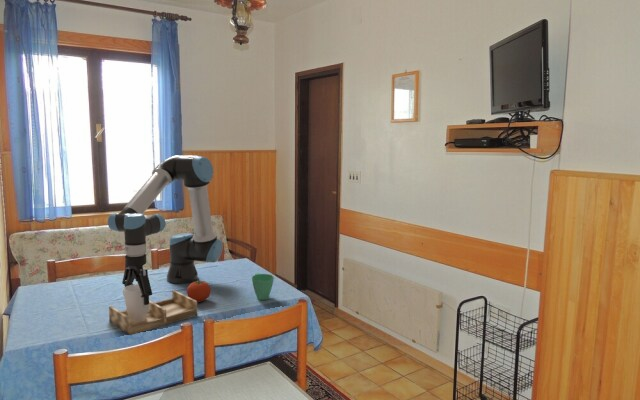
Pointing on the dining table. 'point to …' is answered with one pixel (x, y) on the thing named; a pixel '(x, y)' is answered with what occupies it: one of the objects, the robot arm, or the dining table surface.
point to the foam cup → (134, 303)
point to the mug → (262, 285)
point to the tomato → (198, 291)
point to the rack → (156, 314)
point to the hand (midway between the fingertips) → (137, 307)
